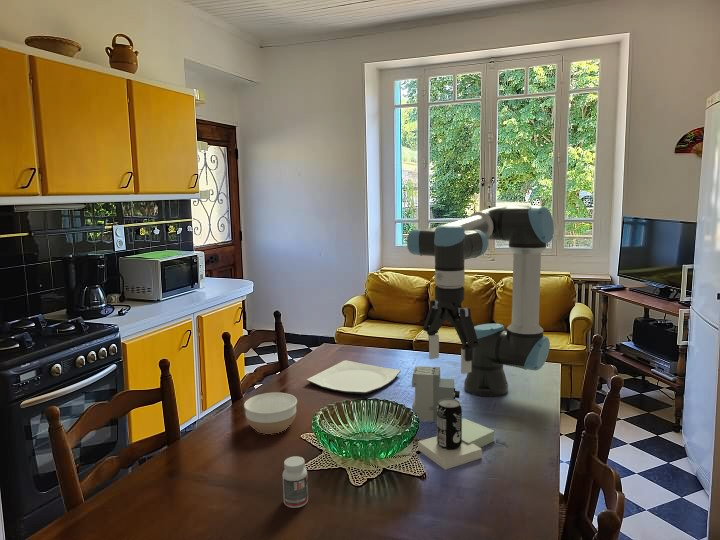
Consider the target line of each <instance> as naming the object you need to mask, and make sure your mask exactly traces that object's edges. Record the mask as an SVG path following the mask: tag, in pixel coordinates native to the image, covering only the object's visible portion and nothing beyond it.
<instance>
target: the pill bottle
mask: <svg viewBox="0 0 720 540" xmlns="http://www.w3.org/2000/svg"><path fill="white" fill-rule="evenodd" d="M305 461H306V460H305V459H304V458H303V457H302V456H297V455H295V456H290V457H287V458H285V460H284V462H283V468H284V470H283V471H282V476H281V477H282V497H283V504H284V505H285V506H287V508H292V509H296V508H297V509H298V508H301V507H304V506H305V505H306V504H307V503H308V501H309V480H308V471H307V469H306V467H305V465H306V462H305Z"/></svg>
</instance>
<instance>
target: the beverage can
mask: <svg viewBox="0 0 720 540" xmlns="http://www.w3.org/2000/svg"><path fill="white" fill-rule="evenodd" d="M438 403H439V404H438V406H437V422H436V436H437V443H438V445H439V446H440V447H441V448H443V449H448V450H453V449H457V448H459V446H460V445H461V444H462V419H463V407H462V406H461V402H460V400H458V399H457V398H455V399H451V398H445V399H441V400H439V402H438Z"/></svg>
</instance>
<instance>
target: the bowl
mask: <svg viewBox="0 0 720 540" xmlns="http://www.w3.org/2000/svg"><path fill="white" fill-rule="evenodd" d="M297 404H298V399H297V397H296V396H294V395H293V394H290V393H286V392H285V393H284V392H266V393H261V394H260V393H259V394H256V395H254V396H252V397H249V398H248V399H247V400H246V401H245V402H244V404H243V408H244V410H245V418H246V422H247V423H248V425H249V426H250V427H251V428H252V429H253V430H254V429H255V430H256V431H257V432H260V433H265V434H271V435H273V434H272V433H278V434H280V433H279V432H281V433H283V432H282V431H284V430H285V431H287V430H288V429H289V428H290V426H291V424H292V423H293V422H294V420H295V418H296V416H297ZM289 425H290V426H289ZM288 427H289V428H288ZM287 428H288V429H287ZM286 429H287V430H286ZM255 430H254V431H255ZM256 431H255V432H256ZM285 431H284V432H285ZM257 432H256V433H257ZM260 433H259V434H260ZM265 434H264V435H265Z"/></svg>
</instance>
